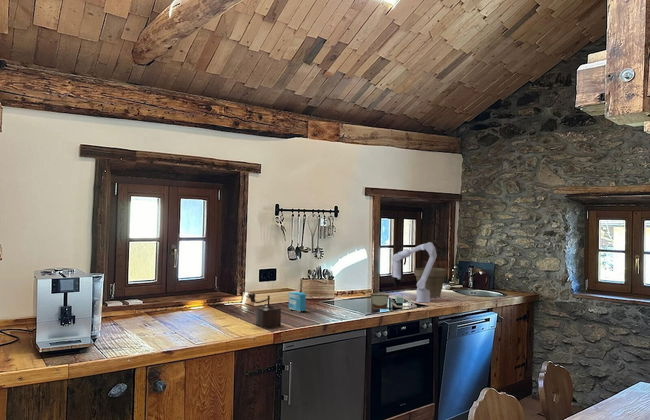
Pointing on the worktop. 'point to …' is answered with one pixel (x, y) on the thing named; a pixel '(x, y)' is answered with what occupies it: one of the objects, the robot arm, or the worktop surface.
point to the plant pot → (432, 280)
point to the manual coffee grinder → (266, 313)
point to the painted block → (399, 299)
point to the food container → (380, 300)
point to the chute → (402, 306)
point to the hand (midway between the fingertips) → (396, 288)
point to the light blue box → (297, 301)
